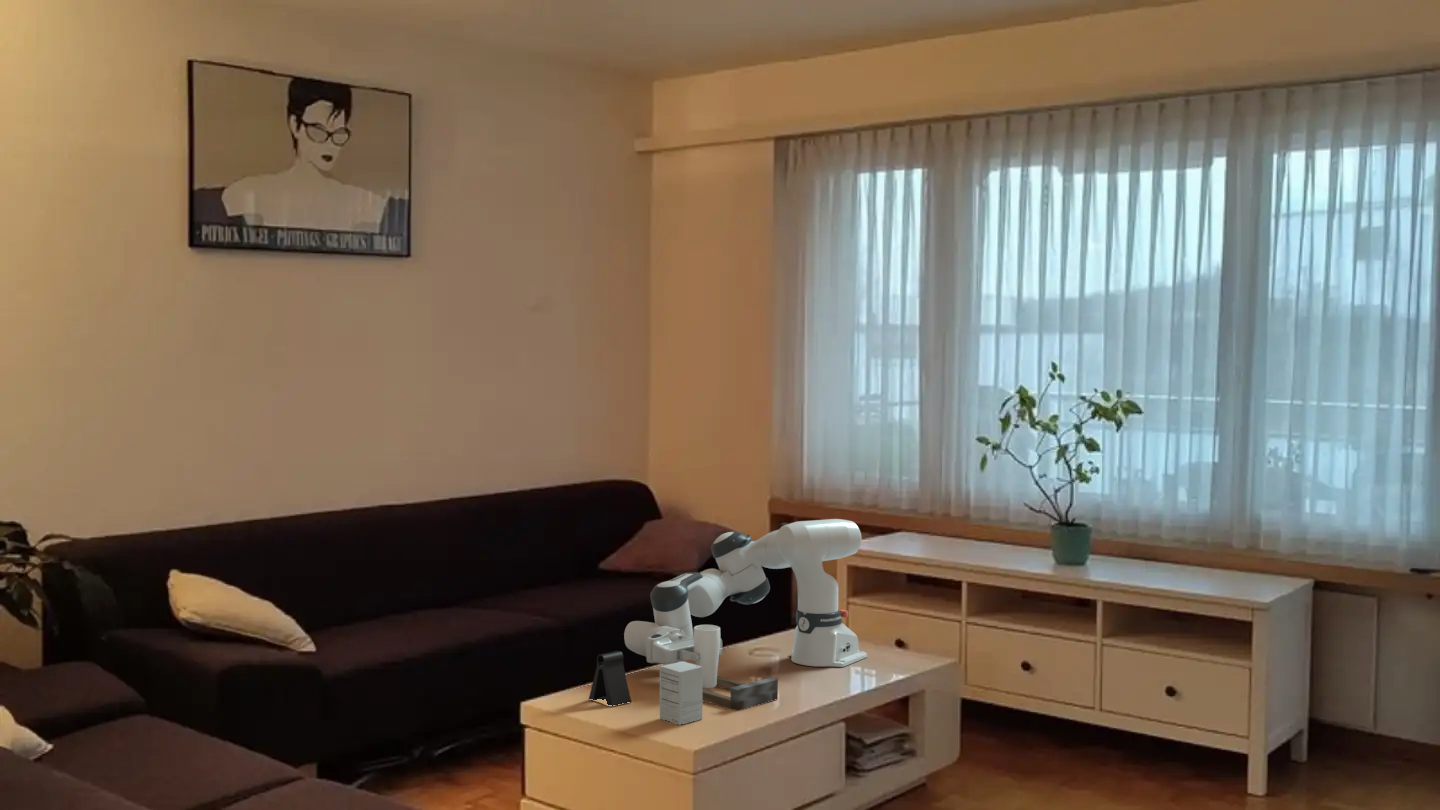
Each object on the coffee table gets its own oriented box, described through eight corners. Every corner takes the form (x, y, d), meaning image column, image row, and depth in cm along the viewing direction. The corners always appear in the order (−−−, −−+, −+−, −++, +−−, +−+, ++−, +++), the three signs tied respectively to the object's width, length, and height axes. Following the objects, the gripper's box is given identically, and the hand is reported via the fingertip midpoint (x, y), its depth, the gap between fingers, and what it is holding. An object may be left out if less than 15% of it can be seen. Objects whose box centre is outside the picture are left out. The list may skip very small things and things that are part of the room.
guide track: (714, 682, 349) (714, 663, 349) (777, 699, 334) (777, 679, 333) (674, 692, 339) (674, 672, 339) (737, 710, 324) (738, 689, 324)
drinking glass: (716, 690, 337) (717, 631, 336) (690, 689, 339) (690, 629, 338) (722, 683, 344) (722, 625, 343) (696, 682, 345) (696, 623, 344)
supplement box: (682, 713, 321) (682, 660, 321) (703, 719, 316) (703, 666, 315) (658, 719, 316) (658, 665, 316) (679, 726, 311) (679, 671, 310)
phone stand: (588, 700, 332) (588, 651, 331) (607, 695, 336) (607, 647, 335) (612, 707, 325) (612, 658, 325) (631, 703, 330) (631, 654, 329)
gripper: (700, 650, 357) (737, 660, 348) (642, 663, 343) (679, 673, 333) (700, 626, 357) (738, 635, 347) (642, 638, 343) (680, 648, 333)
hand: (709, 654), depth 340 cm, fingers closed on drinking glass, 6 cm apart
